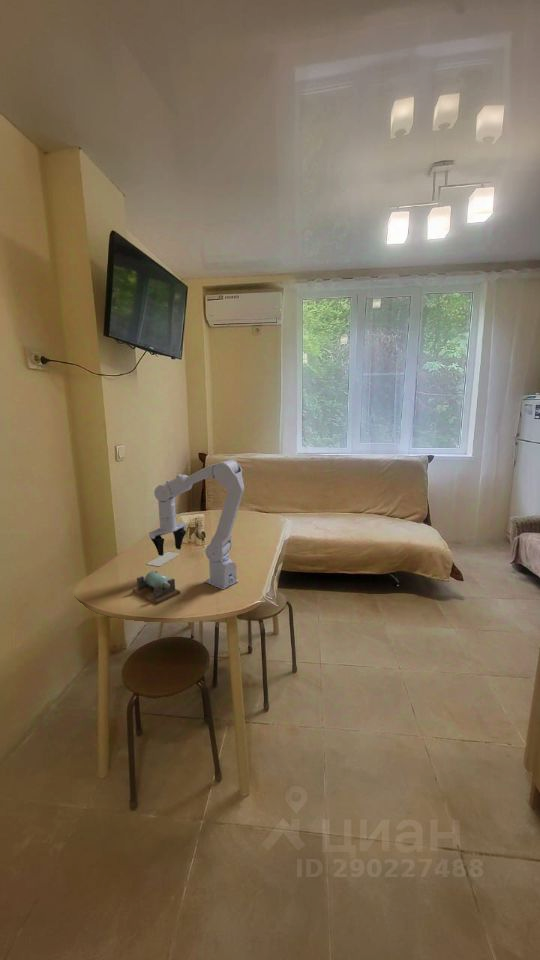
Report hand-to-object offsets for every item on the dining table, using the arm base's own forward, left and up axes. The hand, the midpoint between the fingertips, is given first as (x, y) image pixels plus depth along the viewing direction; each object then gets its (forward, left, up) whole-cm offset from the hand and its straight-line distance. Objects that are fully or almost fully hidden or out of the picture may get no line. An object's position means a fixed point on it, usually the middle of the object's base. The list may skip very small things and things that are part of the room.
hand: (169, 551), depth 134 cm
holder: (-7, +11, -9) cm, 16 cm away
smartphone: (+16, -8, -10) cm, 20 cm away
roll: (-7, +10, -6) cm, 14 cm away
